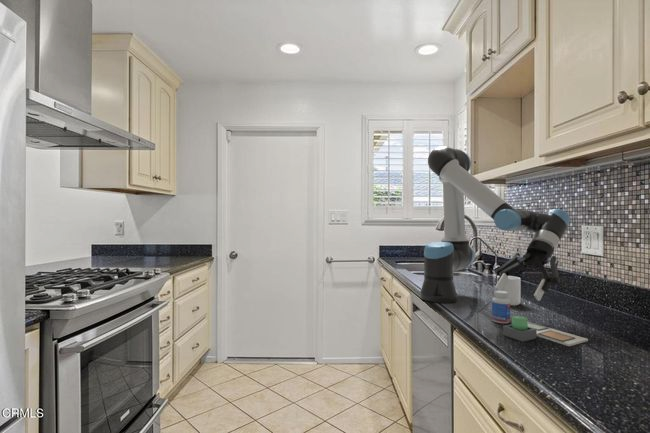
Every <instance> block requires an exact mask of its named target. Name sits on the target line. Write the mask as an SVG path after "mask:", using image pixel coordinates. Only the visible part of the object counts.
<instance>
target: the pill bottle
mask: <svg viewBox="0 0 650 433" xmlns="http://www.w3.org/2000/svg"><path fill="white" fill-rule="evenodd" d="M493 295H494V296H493V298H492V299H491V321H492V322H494V323H497V324H503V325H504V324H505V325H506V324H509V323H510V322H511V305H510V300H509V299H507V297H508V292H505V291H497V290H494V293H493Z"/></svg>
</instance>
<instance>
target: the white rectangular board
mask: <svg viewBox="0 0 650 433" xmlns="http://www.w3.org/2000/svg"><path fill="white" fill-rule="evenodd" d="M528 327H531V328H534V329H537V335H536V337H539V338H541V339H545V340H548V341H552V342H554V343H556V344H560V345H563V346H567V347H572V346H576V345H579V344H581V343H586V342H588V341H589V339H588V338H586V337H582V336H578V335H576V334H572V333H568V332H565V331H562V330H559V329H556V328H552V327H547V326H544V325H542V324H538V323H534V322H531V321H528Z"/></svg>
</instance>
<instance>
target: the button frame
mask: <svg viewBox="0 0 650 433" xmlns="http://www.w3.org/2000/svg"><path fill="white" fill-rule="evenodd" d="M502 328H503V329H502V330H503V331H502V334H503V335H502V336H506V337H508V338H511V339H514V340H517V341H519V342H529V341H532V340H535V339H537V336H536V335H537V329H534V328H531V327H528V330H525V331H520V330H517V329H514V328H512V323H511V324H507V325H506V324H505V325H503V327H502Z"/></svg>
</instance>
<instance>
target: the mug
mask: <svg viewBox="0 0 650 433" xmlns="http://www.w3.org/2000/svg"><path fill="white" fill-rule="evenodd" d="M499 276H500V275H497V276H496V277H497V278H496V283H497V282H498V281H497V280H498V278H499ZM507 277H508V280H507V282H506V284H505V285H504V287H503V289H502V290H501V291H505V292H508V297H507V299H509V300H510V306H519V305H520V304H521V292H522V290H521V289H522V288H521V283H522V282H521V279H522V278H521V277H518V276H514V275H509V276H507Z"/></svg>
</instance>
